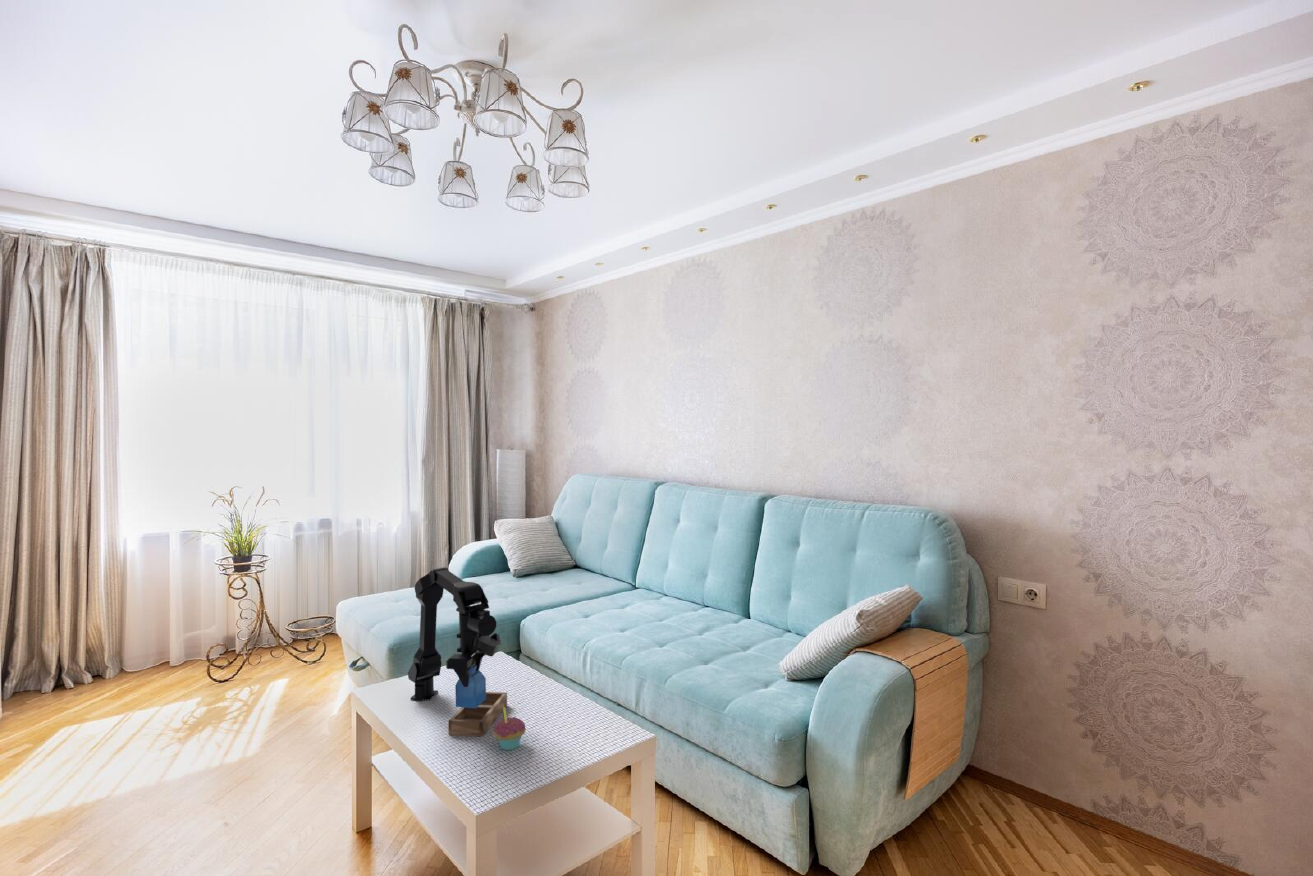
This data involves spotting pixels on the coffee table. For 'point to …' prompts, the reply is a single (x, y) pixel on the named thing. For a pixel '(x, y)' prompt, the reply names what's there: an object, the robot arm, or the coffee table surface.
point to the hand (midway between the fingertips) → (470, 682)
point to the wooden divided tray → (478, 716)
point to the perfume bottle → (471, 689)
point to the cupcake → (509, 732)
